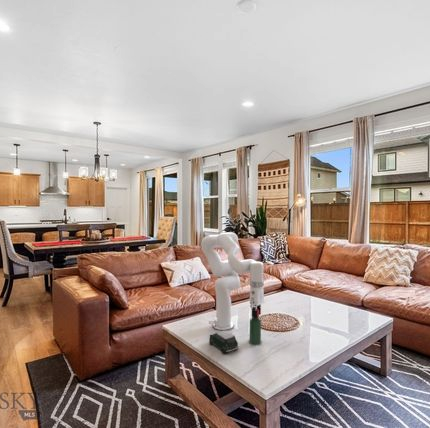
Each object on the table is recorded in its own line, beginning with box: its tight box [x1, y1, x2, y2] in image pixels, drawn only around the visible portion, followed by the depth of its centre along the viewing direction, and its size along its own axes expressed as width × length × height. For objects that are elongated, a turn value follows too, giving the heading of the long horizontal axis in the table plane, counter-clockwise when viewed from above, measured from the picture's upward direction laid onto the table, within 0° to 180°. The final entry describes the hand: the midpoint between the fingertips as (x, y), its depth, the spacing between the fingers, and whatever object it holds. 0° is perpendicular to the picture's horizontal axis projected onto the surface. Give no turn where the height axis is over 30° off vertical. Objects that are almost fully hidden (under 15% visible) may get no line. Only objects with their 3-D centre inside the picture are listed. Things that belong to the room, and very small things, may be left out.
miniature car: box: [208, 330, 240, 354], centre depth 163 cm, size 9×18×8 cm, turn 39°
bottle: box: [249, 316, 262, 346], centre depth 168 cm, size 6×6×18 cm
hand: (256, 315), depth 168 cm, fingers closed on cap, 4 cm apart
